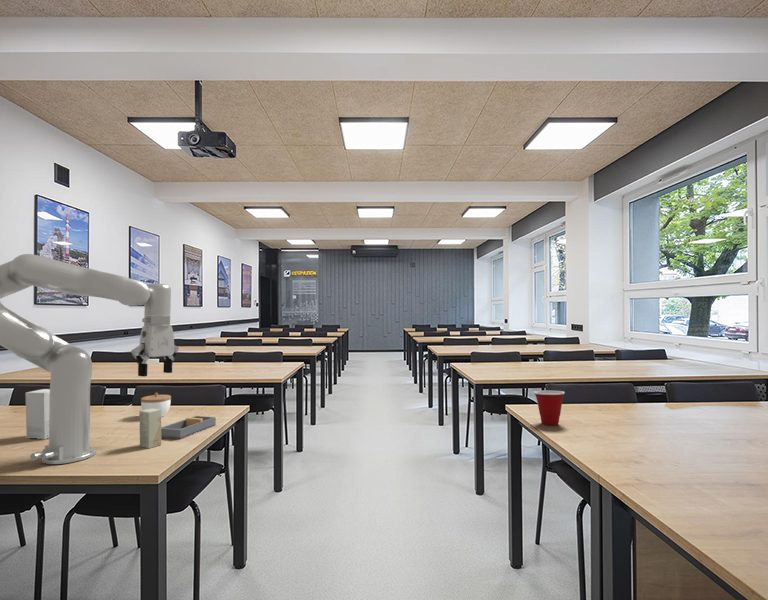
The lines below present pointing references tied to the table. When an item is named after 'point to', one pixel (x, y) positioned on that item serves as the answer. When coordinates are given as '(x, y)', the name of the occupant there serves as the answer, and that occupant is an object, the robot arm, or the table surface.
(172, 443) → the table surface
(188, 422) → the block
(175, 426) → the gray tray
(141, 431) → the box
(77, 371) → the robot arm
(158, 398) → the lidded jar
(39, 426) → the skincare box
